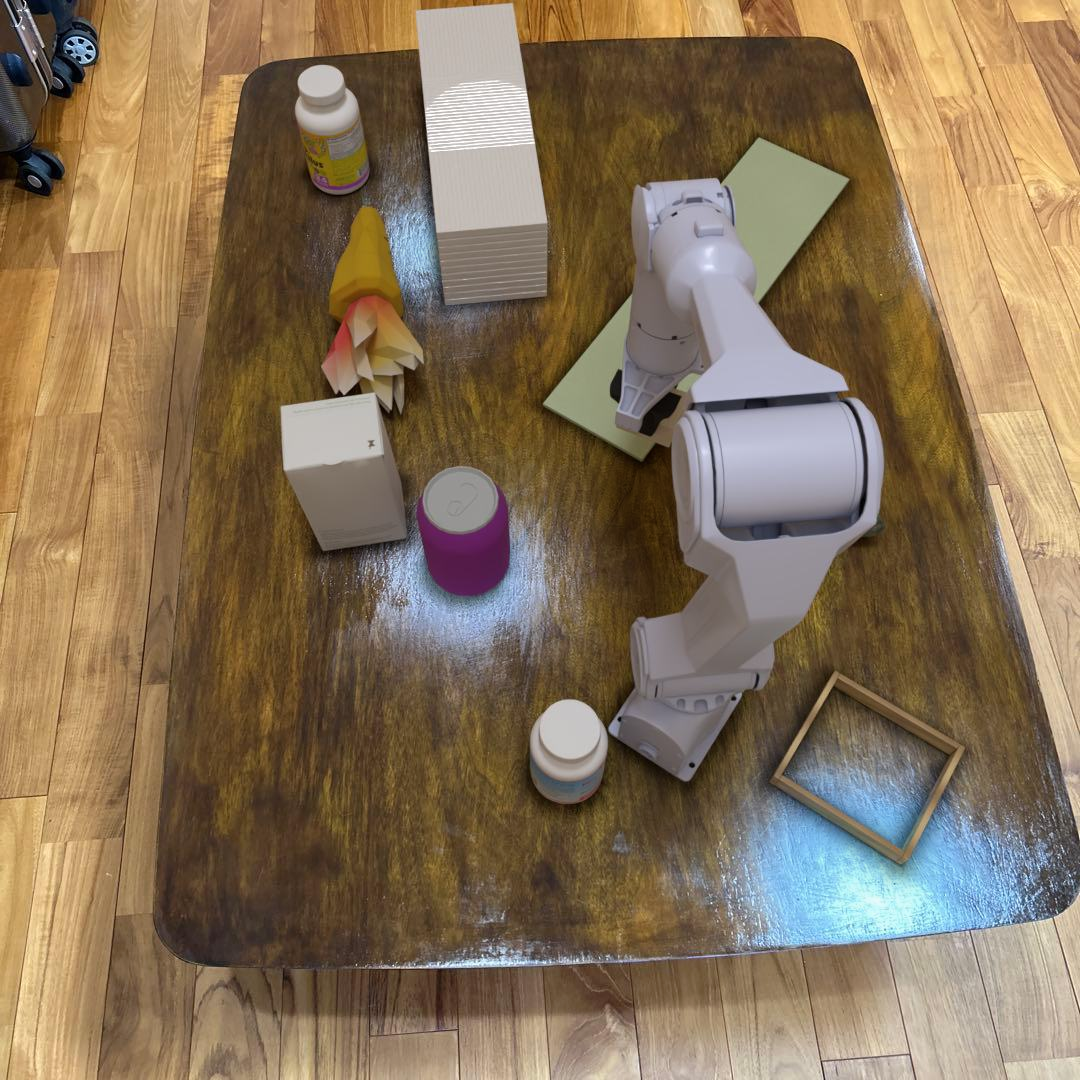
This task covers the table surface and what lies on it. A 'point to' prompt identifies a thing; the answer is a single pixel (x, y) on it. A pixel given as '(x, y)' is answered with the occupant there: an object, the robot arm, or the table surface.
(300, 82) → the supplement bottle
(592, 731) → the pill bottle
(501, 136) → the stack of papers
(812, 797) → the wooden frame
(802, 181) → the runner
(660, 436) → the block
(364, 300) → the torch
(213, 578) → the table surface
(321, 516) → the cosmetic box
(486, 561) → the beverage can
